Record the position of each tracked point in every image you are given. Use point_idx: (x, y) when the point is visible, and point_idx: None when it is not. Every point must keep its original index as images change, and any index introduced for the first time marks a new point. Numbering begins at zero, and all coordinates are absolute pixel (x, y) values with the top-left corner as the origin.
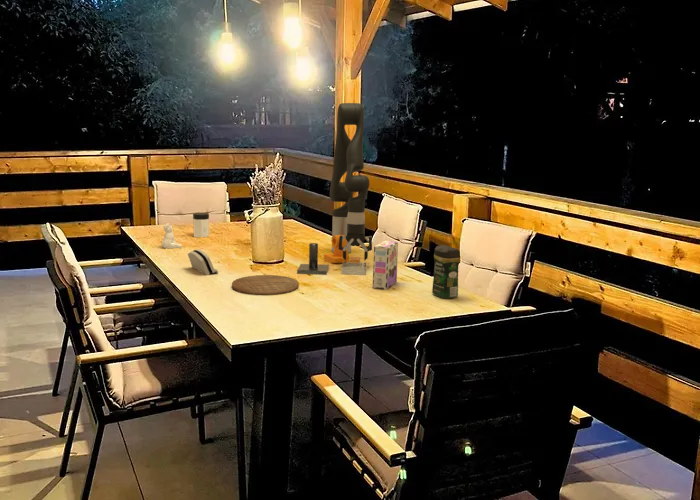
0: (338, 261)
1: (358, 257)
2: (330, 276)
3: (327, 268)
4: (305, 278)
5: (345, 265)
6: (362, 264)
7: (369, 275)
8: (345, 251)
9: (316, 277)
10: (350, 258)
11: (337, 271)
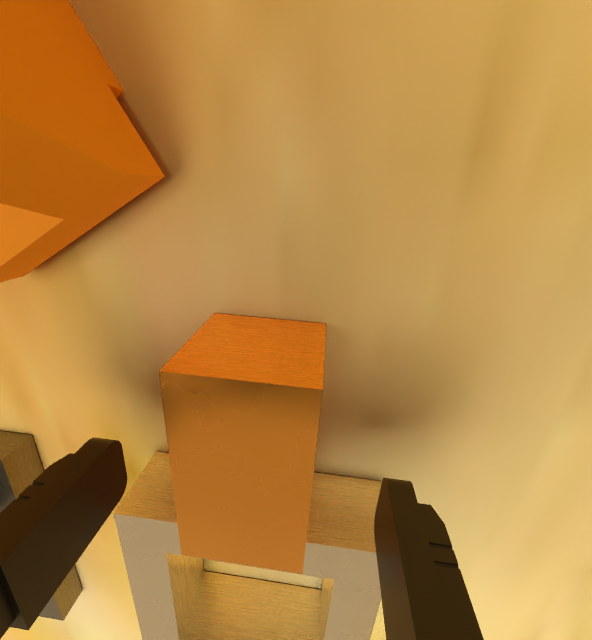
0: (32, 263)
1: (292, 439)
2: (120, 620)
3: None
4: (4, 636)
5: (170, 626)
6: (334, 614)
7: (379, 625)
8: (16, 625)
9: (50, 628)
10: (175, 496)
11: None
